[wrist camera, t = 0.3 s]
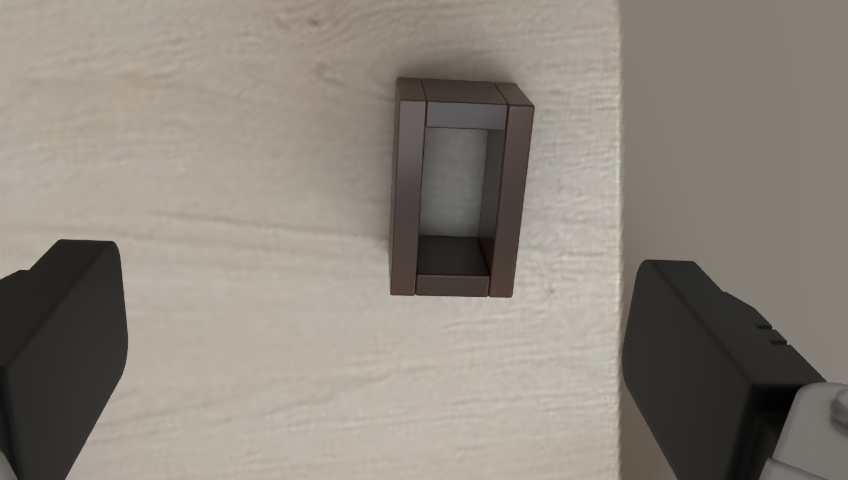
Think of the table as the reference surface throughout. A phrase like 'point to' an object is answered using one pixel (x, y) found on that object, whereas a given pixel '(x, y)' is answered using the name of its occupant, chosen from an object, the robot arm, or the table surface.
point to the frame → (501, 200)
